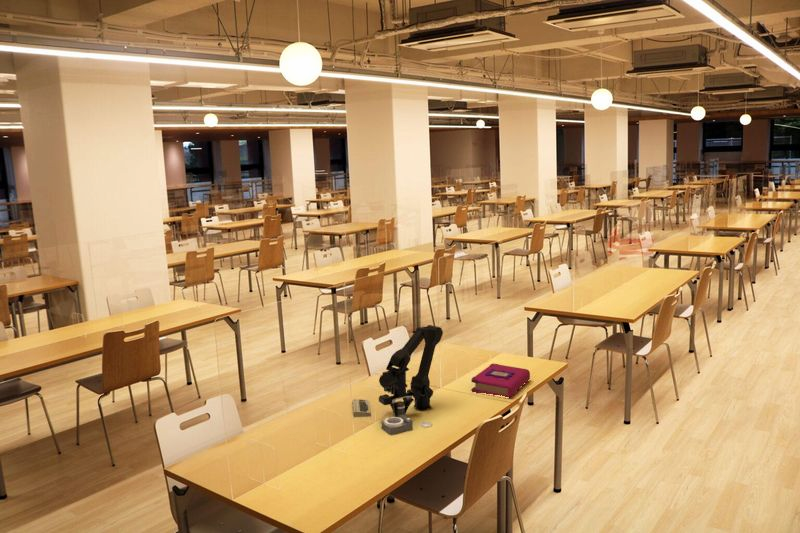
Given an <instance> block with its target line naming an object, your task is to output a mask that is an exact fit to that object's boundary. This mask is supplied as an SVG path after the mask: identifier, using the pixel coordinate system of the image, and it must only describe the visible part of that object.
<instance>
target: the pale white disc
mask: <svg viewBox="0 0 800 533" xmlns="http://www.w3.org/2000/svg"><path fill="white" fill-rule="evenodd" d="M420 426H421V427H422V428H425V429H427V428H432V427H433V423H432V422H429V421H423V422H420Z"/></svg>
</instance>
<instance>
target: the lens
mask: <svg viewBox="0 0 800 533" xmlns="http://www.w3.org/2000/svg"><path fill="white" fill-rule="evenodd" d="M395 402H396V403H397V414H396V416H395V415H394V417H399V415H402V414H404V415H405V416H406V414H405V403H404V402H403V400H402V401H401V400H400V401H395Z"/></svg>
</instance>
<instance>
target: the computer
mask: <svg viewBox="0 0 800 533" xmlns="http://www.w3.org/2000/svg"><path fill="white" fill-rule="evenodd" d="M351 405H353V406H352V416H354V417H353V418H362V417H371V415H372V414H371V413H372V412H371V405H370V401H369V399H364V398H363V399H361V398H353V399H352V401H351Z"/></svg>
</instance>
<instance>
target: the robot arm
mask: <svg viewBox="0 0 800 533" xmlns="http://www.w3.org/2000/svg"><path fill="white" fill-rule="evenodd" d="M443 334H444V331H443V329H442V327H440V326H437V325H432V324H427V325H426V326H418V327H416V328H415V332H414V333H413V334H412V335H411V337H410V338H409V339H408V341H407V342H406V343H405V344H404V346H403V347H402V348H400V349H397V350H396V351H394V353H393V354H392V355H391V357H390V358H389V361H388V363H387V366H386V368H385V370H386V371H383V372H382V374H380V376H379V378H378V382H379V385H380V387H382V388H383V391H384V393H385V392H387V394H381V395H379V397H378V402H379V403H380V404H382V405H383V406H390V408H391V410H392V412H393V416H394V417H395V416H396V414H397V403H396V402H397V401H396V400H401V399H402V402H404V403H405V415H406V413H407V411H408V409H409V407H410V406H411V404H412V402H413V401H414V405H413V407H414V408H415V409H417V410H418V411H420V412H421V411H426V410H430V409H433V407H432V406H431V398H432V396H433V395H434V390H433V389H431V387H430V386H431V385H430V383H431V382H430V378H429V373H430V369H431V366H432V362H433V358H434V354H435V350H436V346H437V345H438V344H439V343H440V342H441V340H442V337H443ZM423 340H424V347H423V351H422V354H421V357H420V363H419V367H418V370H417V371H418V372H417V373H416V375H412V377H411V382H410V388H409V389H407V388H408V384H407V371H410V368H408V365H409V364H410V363H411V356H412V354H413V353H414V352H415V350H416V349H417V348H418V346H419V345H420V344H421V342H422V341H423ZM389 393H390V394H391V395H388V394H389Z"/></svg>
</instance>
